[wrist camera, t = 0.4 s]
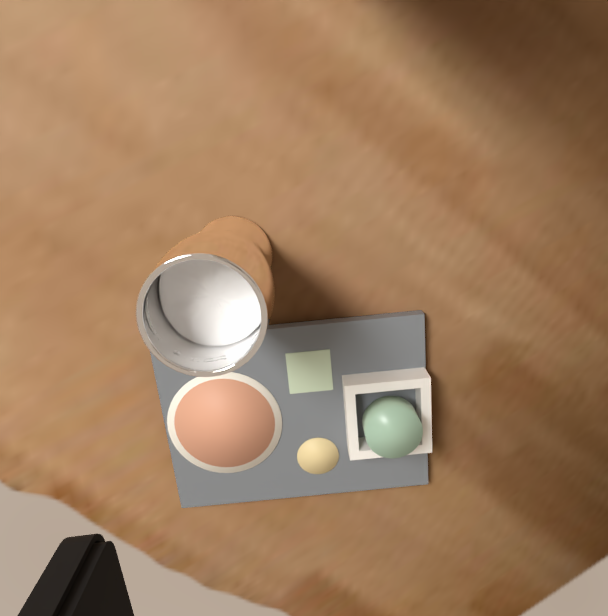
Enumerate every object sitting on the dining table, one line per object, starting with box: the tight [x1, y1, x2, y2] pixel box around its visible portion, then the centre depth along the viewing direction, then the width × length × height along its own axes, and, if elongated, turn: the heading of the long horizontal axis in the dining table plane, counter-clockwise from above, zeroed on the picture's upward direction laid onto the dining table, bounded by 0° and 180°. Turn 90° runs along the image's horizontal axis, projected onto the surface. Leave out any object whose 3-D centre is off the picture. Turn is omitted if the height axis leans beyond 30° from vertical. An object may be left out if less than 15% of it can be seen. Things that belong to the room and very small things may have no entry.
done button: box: [362, 396, 423, 458], centre depth 40 cm, size 4×4×2 cm
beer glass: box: [136, 216, 274, 377], centre depth 33 cm, size 7×7×15 cm
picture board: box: [150, 310, 432, 508], centre depth 43 cm, size 16×22×3 cm
